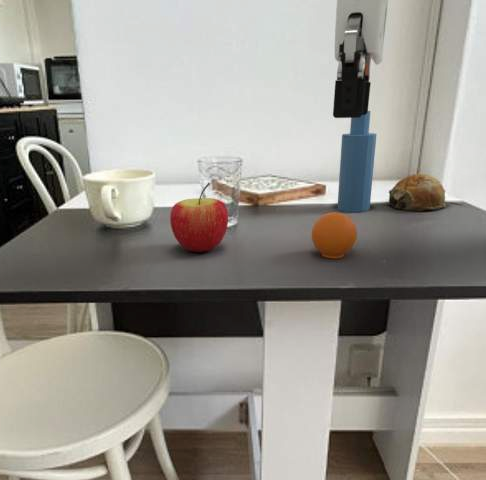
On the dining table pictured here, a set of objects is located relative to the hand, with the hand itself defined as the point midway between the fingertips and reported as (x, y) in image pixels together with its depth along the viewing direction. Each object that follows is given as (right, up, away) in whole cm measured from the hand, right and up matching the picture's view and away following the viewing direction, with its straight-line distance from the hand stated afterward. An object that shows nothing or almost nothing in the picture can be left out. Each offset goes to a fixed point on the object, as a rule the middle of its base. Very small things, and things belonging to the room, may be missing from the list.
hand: (351, 116), depth 55 cm
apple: (-19, -16, +11) cm, 28 cm away
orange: (-1, -17, +7) cm, 18 cm away
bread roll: (+23, -7, +31) cm, 39 cm away
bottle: (+10, -7, +31) cm, 34 cm away
